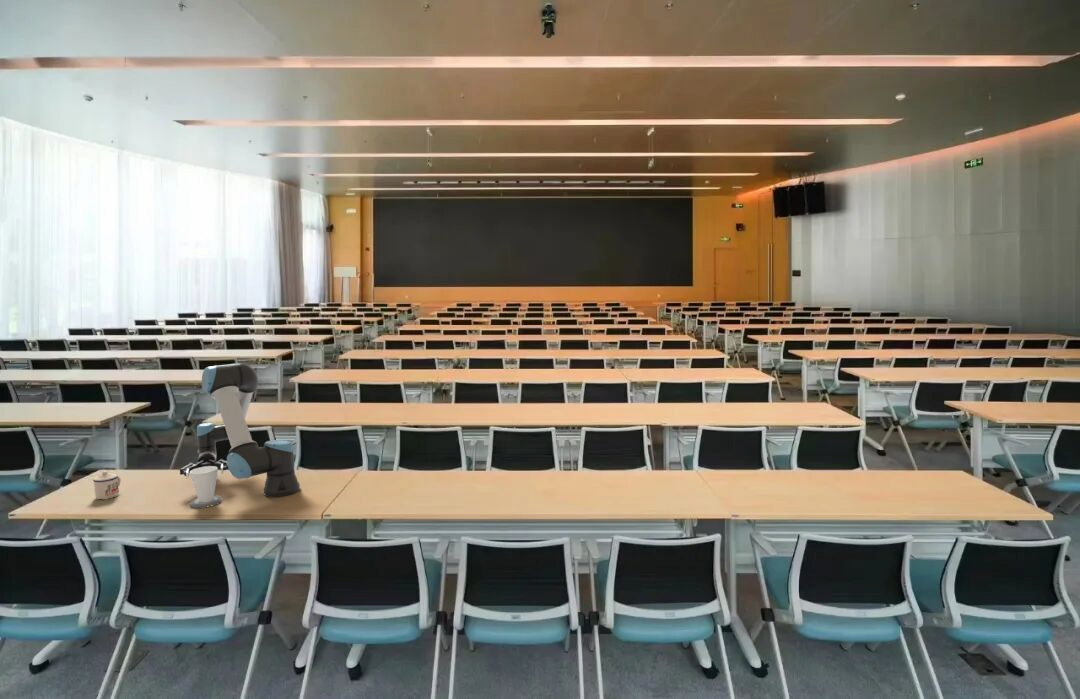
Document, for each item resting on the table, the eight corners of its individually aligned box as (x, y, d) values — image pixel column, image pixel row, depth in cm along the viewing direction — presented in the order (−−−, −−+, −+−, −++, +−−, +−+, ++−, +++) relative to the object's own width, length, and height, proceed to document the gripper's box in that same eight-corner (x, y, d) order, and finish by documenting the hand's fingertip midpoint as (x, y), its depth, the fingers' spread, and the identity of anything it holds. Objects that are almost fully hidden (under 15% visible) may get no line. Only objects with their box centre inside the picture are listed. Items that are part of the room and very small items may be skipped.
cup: (192, 498, 270) (189, 468, 269) (219, 494, 275) (217, 464, 274) (192, 506, 261) (189, 475, 260) (220, 501, 266) (217, 470, 265)
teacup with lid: (108, 500, 274) (105, 475, 272) (89, 499, 275) (87, 474, 274) (129, 491, 285) (127, 466, 284) (112, 490, 287) (109, 466, 285)
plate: (228, 499, 272) (227, 497, 271) (204, 509, 260) (204, 506, 260) (207, 496, 276) (207, 494, 276) (183, 506, 265) (183, 503, 264)
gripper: (236, 464, 300) (236, 477, 281) (177, 472, 289) (173, 486, 270) (235, 449, 299) (235, 460, 280) (175, 456, 288) (171, 469, 269)
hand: (204, 473), depth 275 cm, fingers open, 13 cm apart
